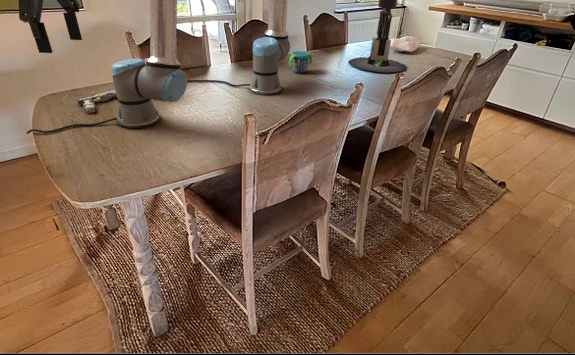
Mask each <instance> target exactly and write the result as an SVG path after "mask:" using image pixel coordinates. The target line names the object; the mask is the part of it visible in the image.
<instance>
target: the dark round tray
mask: <svg viewBox="0 0 575 355" xmlns="http://www.w3.org/2000/svg"><path fill="white" fill-rule="evenodd" d="M347 63H348V64H349V65H350V66H352V67H354V68H356V69H358V70H364V71H369V72H376V73H385V74H386V73H399V72H402V71H404V70H406V68H407V65H406V64H404V63H402V62H401V63H400V62H399V61H395V60H392V59H388V60H372V59H371V57H370V55H369V56H368V57H365V56H364V57H362V56H360V57H355V58H351V59H349V60H348V61H347Z"/></svg>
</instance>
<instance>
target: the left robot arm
mask: <svg viewBox="0 0 575 355" xmlns="http://www.w3.org/2000/svg"><path fill="white" fill-rule="evenodd" d="M56 2H57V4H59V6H60V7H61V8H62V9H63V10H64V12H62V14H63V18H64V21H65V25H66V28H67V32H68V36H69V40H70V41H82V40H83V37H82V33H81V29H80V26H79V21H78V18H77V13H80V4H79V2H78V0H56ZM43 5H44V0H18V19H19V20H20V21H21V22H23V23H27V24H29V28H30V31H31V33H32V36H33V38H34V41H35V44H36V47H37V50H38V54H39V53H40V54H53V51H54V50H53V48H52V45H51V41H50V39H49V35H48V32H47V28H46V26H45V22H44V21H41V19H42V12H43V7H44V6H43ZM149 21H150V22H149V32H150V33H149V34H150V35H149V36H150V38H149V39H150V44H149V45H150V46H149V48H150V51H149V53H150V56H149V57H148V59H147V60H146V65H145V61H144V58H129V59H123V60H120V61H116V62H114V63H113V64H112V65H111V68H110V69H111V76H112V81H113V84H114V90H115V91H116V93H117V97H116V98H117V101H118V108H117V115H116V116H115V117H113V118H108V119H105V120H102V121H99V122H94V123H73V124H69V125H64V126H61V127H57V128H54V129H51V130H50V129H49V130H44V129H43V130H42V129H38V128H31V129H29V130H28V131H26V135H28V134H31V133H32V132H37V133H43V134H51V133H55V132H59V131H62V130H65V129H69V128H73V127H92V126H99V125H102V124H106V123H108V122H109V123H110V122H112V121H116V120H117V124H118V125H119V126H120V127H122V128H125V129H143V128H149V127H151V126H153V125H155V124H157V123H158V122H159V121H160V114H159V110H157V108H156V106H155V104H154V102H153V101H152V100H154V101H155V100H156V101H161V102H164V103H167V102H168V103H176V102H179V101H180V100H181V99H182V98H183V96H184V95H185V93H186V90H187V86H188V82H187V80H188V77H187V74H186V72H185V71H184V70H182V69H181V63H180V62H179V61H178V59H177V34H178V33H177V32H178V30H177V29H178V28H177V26H178V25H177V24H178V0H149ZM52 220H53V224H54V226H55V228H56V231H60V227H59V226H58V224H57V222H56V220H55V218H54V217H52Z"/></svg>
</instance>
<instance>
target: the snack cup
mask: <svg viewBox="0 0 575 355" xmlns="http://www.w3.org/2000/svg"><path fill="white" fill-rule="evenodd" d="M312 63H313V56H312V54H311V52H309V51H304V50H294V51H292V52H291V55H290V57H289V60H288V67H289V68H292V70H293V72H294V73H298V74H304V73H307V71H308V67H309V65H312Z"/></svg>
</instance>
